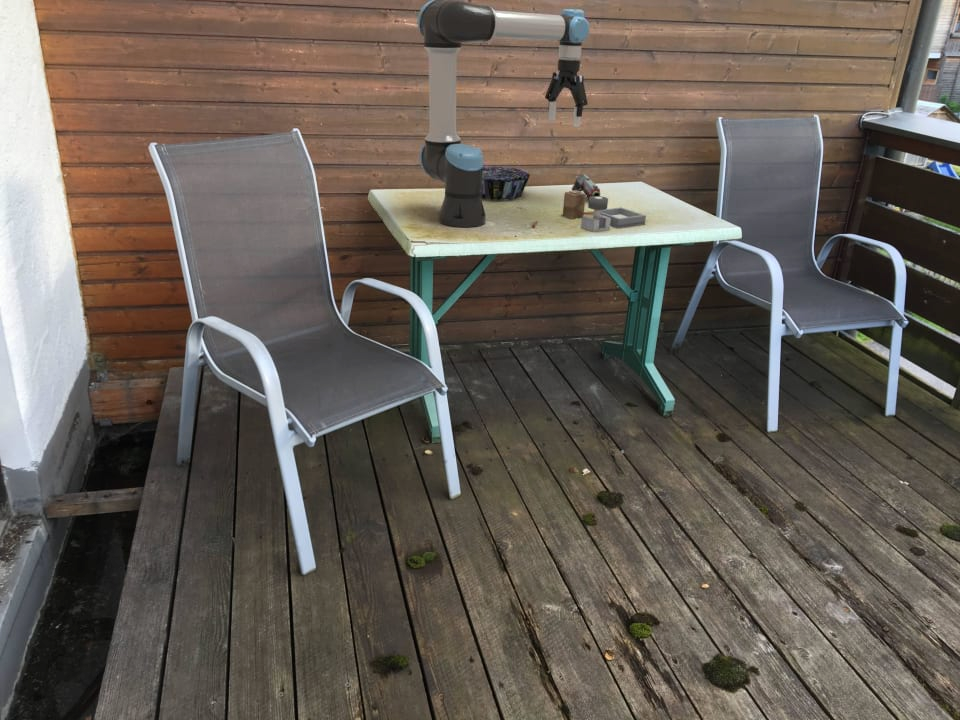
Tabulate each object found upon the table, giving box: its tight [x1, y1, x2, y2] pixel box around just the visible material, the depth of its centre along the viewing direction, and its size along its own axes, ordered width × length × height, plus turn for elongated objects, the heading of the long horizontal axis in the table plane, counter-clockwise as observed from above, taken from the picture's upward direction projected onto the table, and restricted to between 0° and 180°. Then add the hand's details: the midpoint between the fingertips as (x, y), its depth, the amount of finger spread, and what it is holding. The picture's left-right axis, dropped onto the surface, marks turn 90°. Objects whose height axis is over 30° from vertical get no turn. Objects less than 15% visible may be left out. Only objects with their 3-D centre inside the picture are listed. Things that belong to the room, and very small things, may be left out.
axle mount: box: [580, 214, 611, 233], centre depth 247 cm, size 7×6×4 cm
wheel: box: [587, 195, 609, 218], centre depth 245 cm, size 6×6×6 cm
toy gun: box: [571, 172, 601, 201], centre depth 286 cm, size 4×20×10 cm, turn 16°
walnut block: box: [562, 190, 587, 220], centre depth 259 cm, size 5×5×9 cm
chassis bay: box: [600, 206, 647, 229], centre depth 256 cm, size 12×12×3 cm
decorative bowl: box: [481, 165, 531, 202], centre depth 285 cm, size 26×28×10 cm
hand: (563, 123), depth 271 cm, fingers open, 13 cm apart
